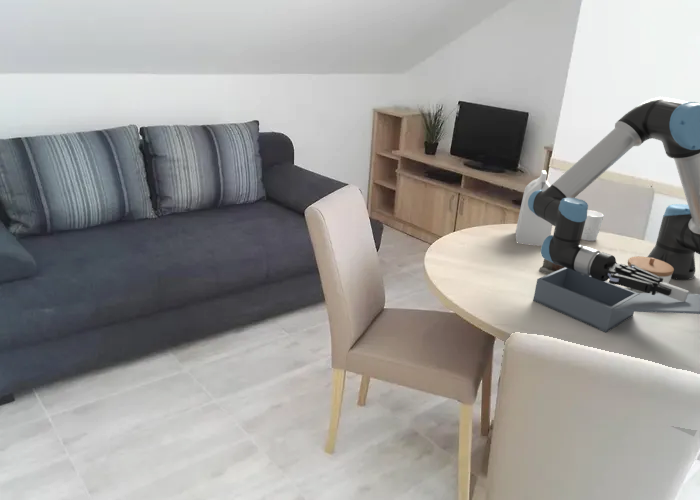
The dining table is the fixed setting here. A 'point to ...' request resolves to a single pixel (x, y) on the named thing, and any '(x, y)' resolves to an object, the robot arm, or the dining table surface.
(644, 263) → the lidded bowl
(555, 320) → the dining table surface
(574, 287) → the mailer box
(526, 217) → the milk
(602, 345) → the dining table surface
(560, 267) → the packaged product
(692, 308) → the lid
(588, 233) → the white cup
